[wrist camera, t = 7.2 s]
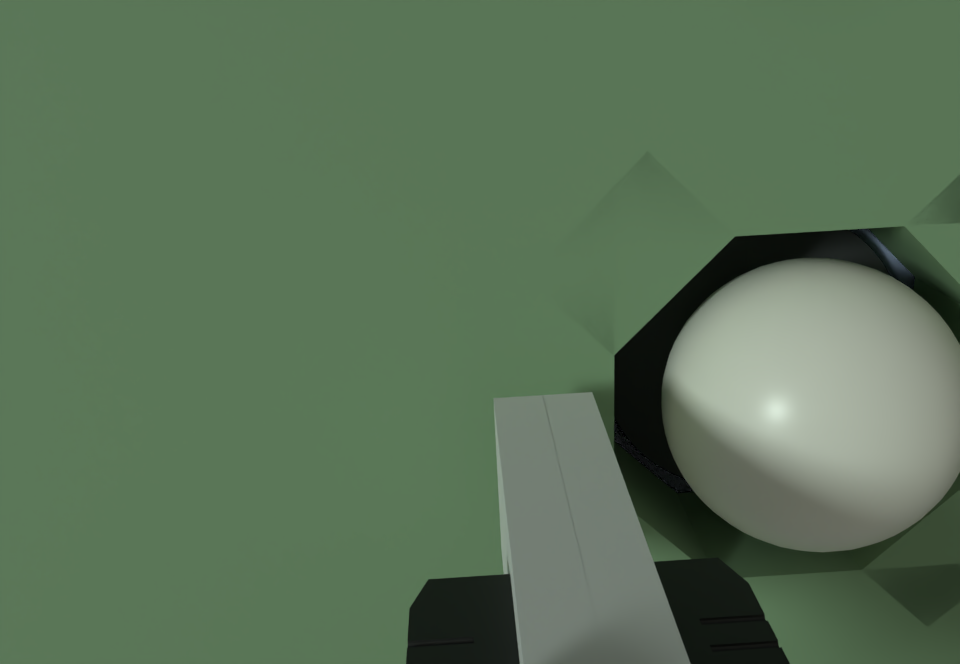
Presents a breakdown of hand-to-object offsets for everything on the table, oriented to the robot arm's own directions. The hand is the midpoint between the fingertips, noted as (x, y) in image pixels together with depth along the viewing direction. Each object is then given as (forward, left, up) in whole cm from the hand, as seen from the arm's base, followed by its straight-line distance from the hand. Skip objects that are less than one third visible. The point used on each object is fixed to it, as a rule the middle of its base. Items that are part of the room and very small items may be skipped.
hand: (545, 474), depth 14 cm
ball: (0, -5, -2) cm, 5 cm away
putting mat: (0, +1, -4) cm, 5 cm away
